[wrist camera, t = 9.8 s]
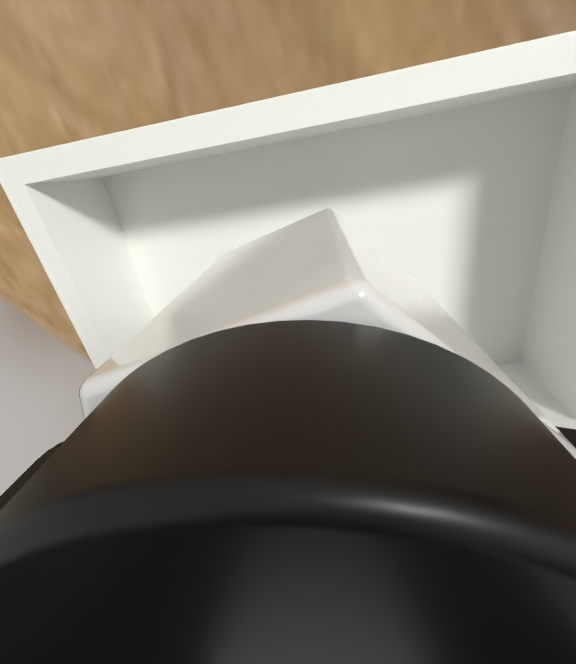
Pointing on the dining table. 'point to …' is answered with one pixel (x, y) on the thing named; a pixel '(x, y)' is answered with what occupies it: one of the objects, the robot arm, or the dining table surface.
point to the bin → (339, 201)
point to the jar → (297, 483)
